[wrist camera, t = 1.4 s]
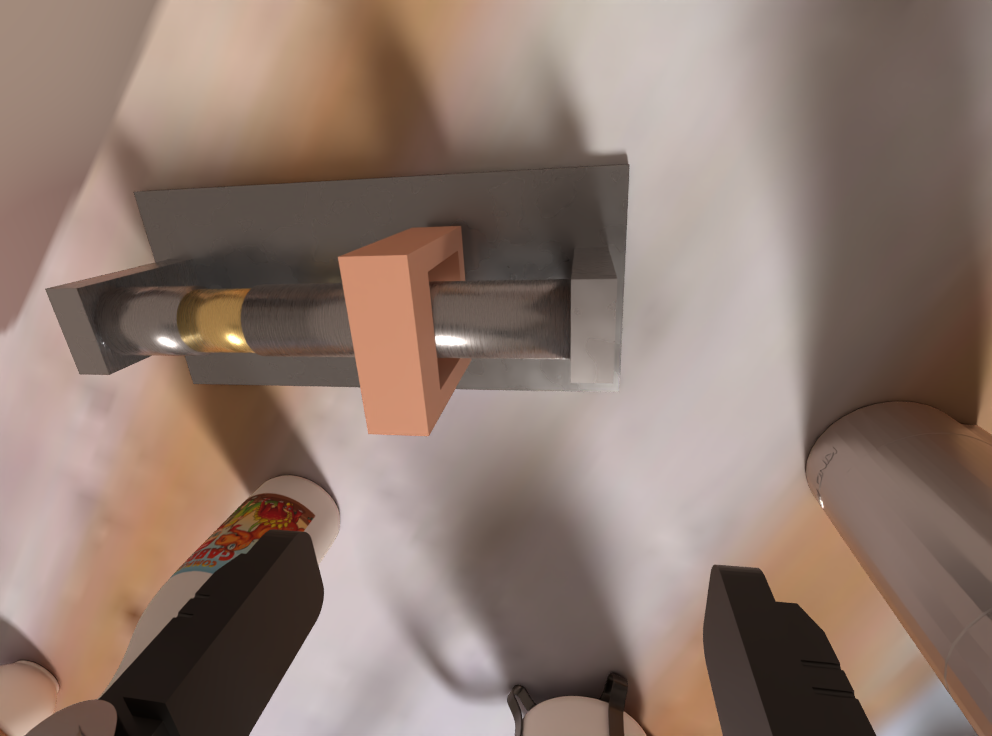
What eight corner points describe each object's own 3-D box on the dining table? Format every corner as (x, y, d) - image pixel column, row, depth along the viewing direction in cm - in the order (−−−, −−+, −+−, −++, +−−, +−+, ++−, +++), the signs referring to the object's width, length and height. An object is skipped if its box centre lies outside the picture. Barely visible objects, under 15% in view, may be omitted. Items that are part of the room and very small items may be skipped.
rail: (628, 164, 28) (647, 166, 20) (618, 388, 33) (630, 465, 25) (141, 191, 33) (-7, 201, 25) (199, 380, 39) (93, 441, 30)
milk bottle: (360, 514, 41) (186, 792, 23) (312, 559, 44) (123, 836, 26) (287, 455, 40) (43, 698, 22) (243, 505, 43) (-5, 756, 25)
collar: (461, 225, 29) (406, 254, 20) (471, 360, 32) (428, 436, 23) (411, 227, 29) (337, 257, 21) (426, 359, 33) (368, 434, 24)
